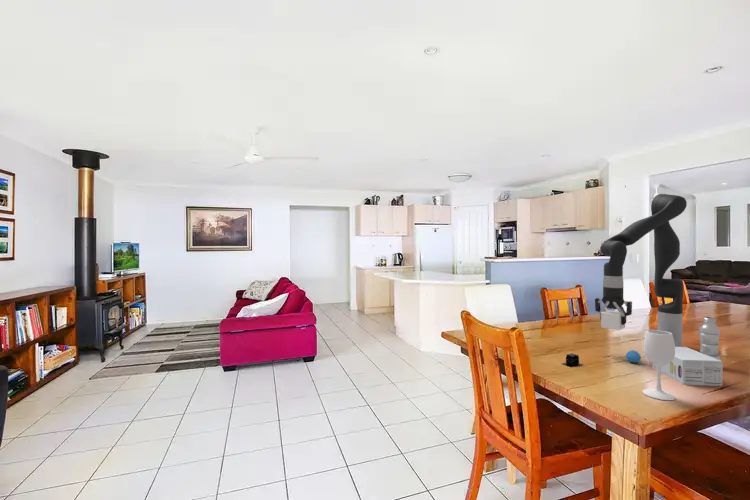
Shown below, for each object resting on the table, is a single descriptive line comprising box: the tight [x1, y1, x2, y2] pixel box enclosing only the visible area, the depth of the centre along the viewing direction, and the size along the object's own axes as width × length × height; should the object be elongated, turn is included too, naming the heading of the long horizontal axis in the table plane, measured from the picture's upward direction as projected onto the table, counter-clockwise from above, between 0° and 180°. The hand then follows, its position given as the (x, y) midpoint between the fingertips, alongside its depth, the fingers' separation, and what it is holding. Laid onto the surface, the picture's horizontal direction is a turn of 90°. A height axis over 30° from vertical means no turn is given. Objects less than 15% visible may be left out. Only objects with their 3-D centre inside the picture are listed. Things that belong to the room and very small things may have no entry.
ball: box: [625, 350, 642, 364], centre depth 151 cm, size 5×5×5 cm
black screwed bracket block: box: [561, 352, 585, 368], centre depth 150 cm, size 12×7×5 cm, turn 114°
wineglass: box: [641, 329, 677, 401], centre depth 119 cm, size 9×9×21 cm
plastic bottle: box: [698, 316, 721, 360], centre depth 146 cm, size 6×7×20 cm
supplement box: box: [652, 346, 723, 387], centre depth 135 cm, size 17×13×9 cm
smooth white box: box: [600, 309, 626, 331], centre depth 159 cm, size 7×7×7 cm
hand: (612, 322), depth 159 cm, fingers closed on smooth white box, 7 cm apart
